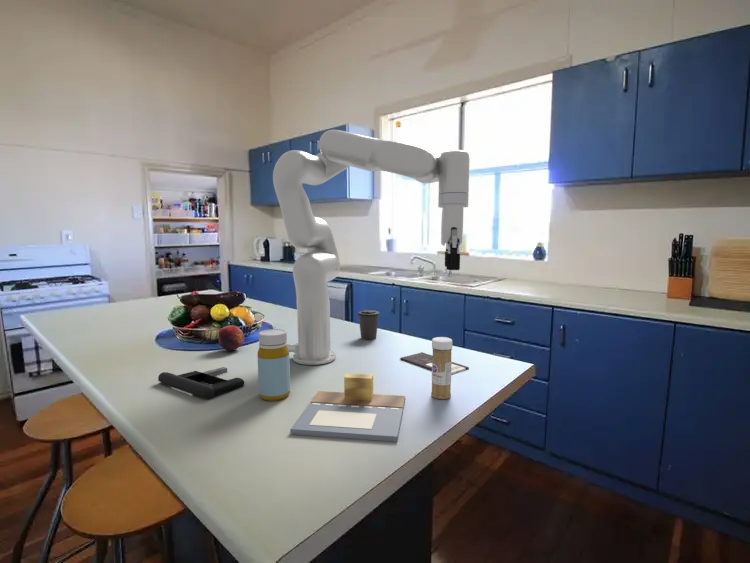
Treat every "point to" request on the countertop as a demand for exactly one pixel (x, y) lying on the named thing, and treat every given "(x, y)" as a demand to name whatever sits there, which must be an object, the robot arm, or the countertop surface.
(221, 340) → the fruit
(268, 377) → the bottle
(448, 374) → the sprinkles bottle
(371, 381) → the stub
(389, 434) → the ticket
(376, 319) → the coffee cup
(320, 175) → the robot arm
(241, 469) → the countertop surface
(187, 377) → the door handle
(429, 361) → the chocolate bar
